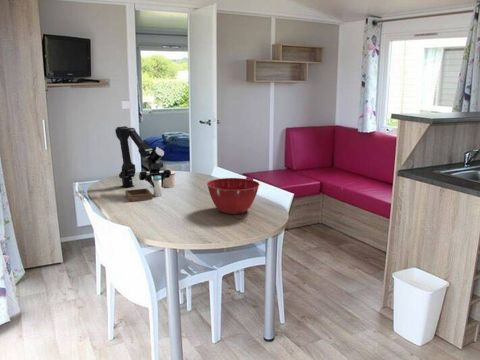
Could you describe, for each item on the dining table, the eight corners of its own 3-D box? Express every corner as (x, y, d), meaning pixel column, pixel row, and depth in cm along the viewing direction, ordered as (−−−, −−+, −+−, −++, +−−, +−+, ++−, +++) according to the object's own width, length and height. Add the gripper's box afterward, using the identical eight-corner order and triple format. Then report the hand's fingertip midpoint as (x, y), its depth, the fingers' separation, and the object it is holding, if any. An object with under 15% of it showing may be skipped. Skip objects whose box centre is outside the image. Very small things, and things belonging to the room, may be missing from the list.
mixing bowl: (223, 200, 259) (223, 175, 256) (267, 207, 246) (268, 180, 243) (197, 213, 235) (196, 185, 231) (244, 221, 222) (244, 192, 218)
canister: (152, 195, 266) (152, 176, 263) (160, 194, 268) (159, 175, 265) (155, 198, 260) (154, 178, 257) (163, 197, 262) (162, 177, 259)
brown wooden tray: (125, 197, 263) (125, 190, 262) (147, 195, 269) (146, 188, 268) (130, 203, 252) (129, 195, 251) (152, 200, 257) (152, 193, 256)
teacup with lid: (172, 183, 298) (172, 167, 296) (177, 186, 291) (177, 169, 288) (155, 185, 293) (155, 168, 290) (159, 188, 285) (159, 171, 282)
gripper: (139, 158, 259) (144, 180, 252) (169, 156, 267) (175, 178, 260) (136, 169, 268) (141, 190, 261) (166, 166, 276) (172, 187, 269)
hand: (157, 186), depth 262 cm, fingers closed on canister, 5 cm apart
